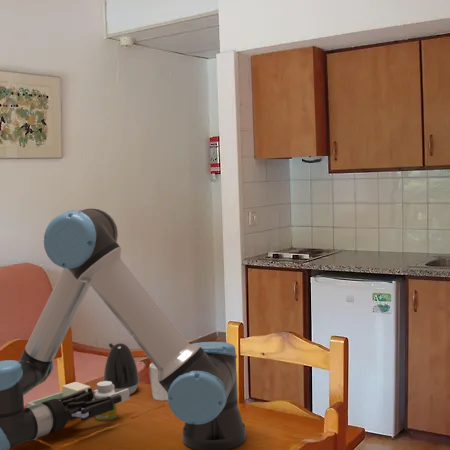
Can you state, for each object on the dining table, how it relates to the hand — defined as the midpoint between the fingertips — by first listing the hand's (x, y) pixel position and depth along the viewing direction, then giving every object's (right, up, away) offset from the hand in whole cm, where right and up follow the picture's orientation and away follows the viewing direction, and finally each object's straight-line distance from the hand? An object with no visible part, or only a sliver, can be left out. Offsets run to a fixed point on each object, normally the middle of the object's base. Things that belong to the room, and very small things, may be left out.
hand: (120, 391), depth 169 cm
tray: (-16, -6, +4) cm, 18 cm away
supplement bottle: (-3, -7, -3) cm, 8 cm away
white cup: (+11, -5, +11) cm, 16 cm away
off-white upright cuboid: (-13, -5, +7) cm, 16 cm away
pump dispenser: (-2, -5, +16) cm, 17 cm away
